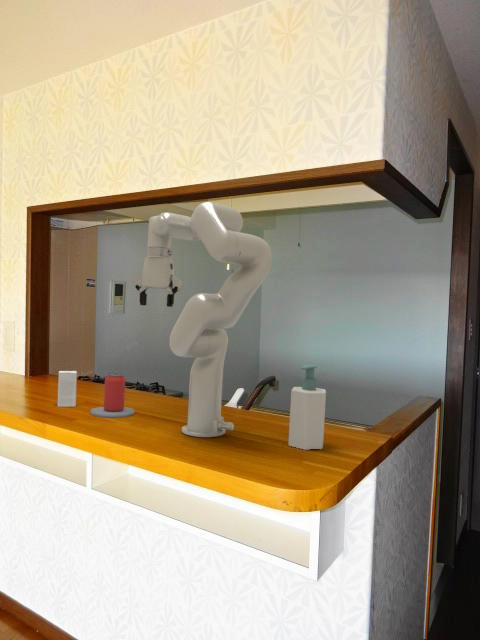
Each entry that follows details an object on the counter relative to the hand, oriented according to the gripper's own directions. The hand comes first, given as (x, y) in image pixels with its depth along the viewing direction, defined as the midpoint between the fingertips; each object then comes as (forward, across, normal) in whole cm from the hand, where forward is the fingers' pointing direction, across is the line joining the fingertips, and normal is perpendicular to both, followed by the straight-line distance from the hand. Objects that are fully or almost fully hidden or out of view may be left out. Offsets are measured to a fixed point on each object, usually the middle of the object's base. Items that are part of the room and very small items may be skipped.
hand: (156, 305), depth 164 cm
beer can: (+36, +12, +4) cm, 38 cm away
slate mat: (+36, +12, +4) cm, 38 cm away
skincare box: (+36, +32, +1) cm, 49 cm away
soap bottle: (+36, -54, +14) cm, 67 cm away
